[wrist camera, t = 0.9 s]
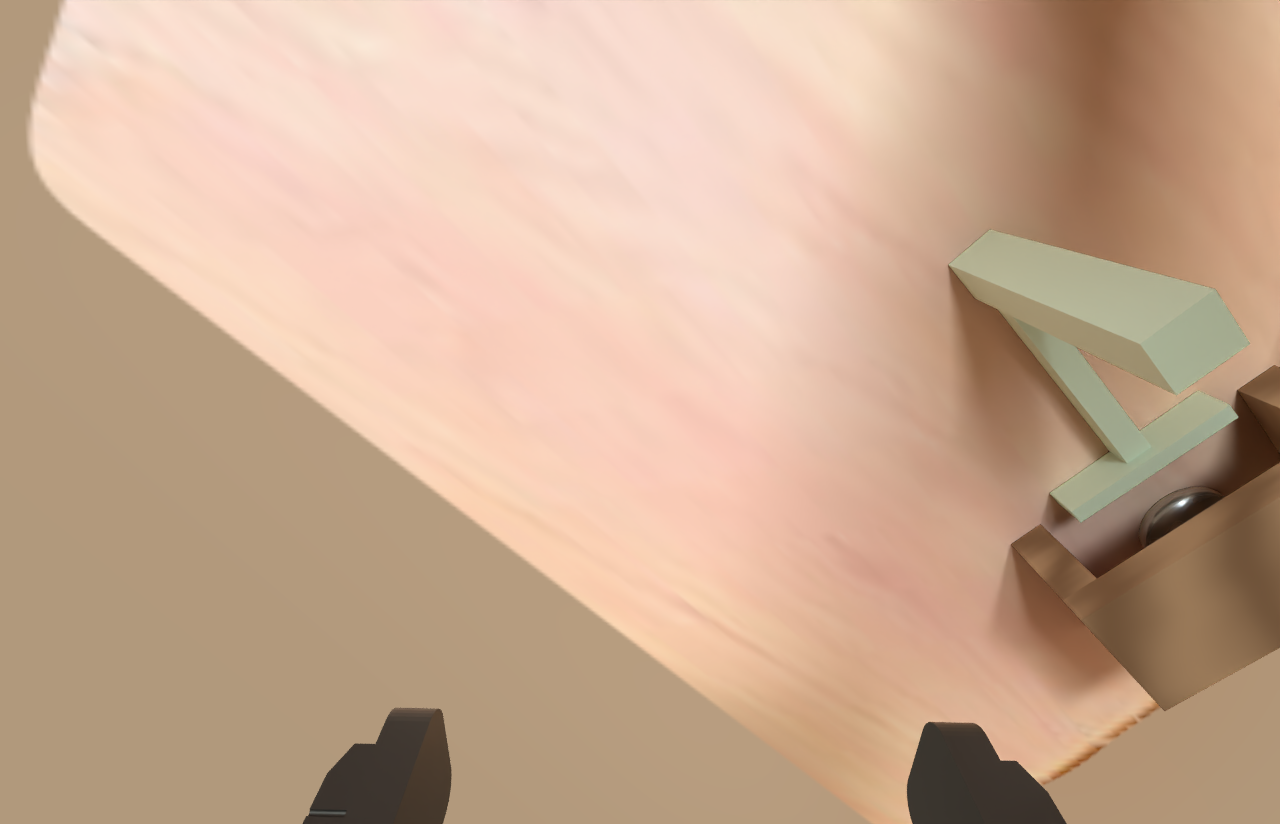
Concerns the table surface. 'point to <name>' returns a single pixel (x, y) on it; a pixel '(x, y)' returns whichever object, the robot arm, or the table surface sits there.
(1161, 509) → the token
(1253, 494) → the wooden arch
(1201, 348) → the rake
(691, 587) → the table surface
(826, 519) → the table surface
